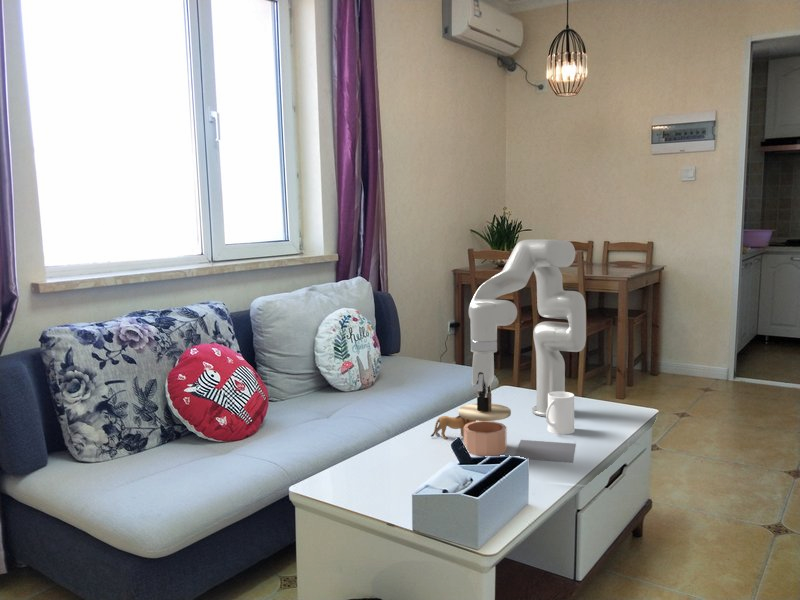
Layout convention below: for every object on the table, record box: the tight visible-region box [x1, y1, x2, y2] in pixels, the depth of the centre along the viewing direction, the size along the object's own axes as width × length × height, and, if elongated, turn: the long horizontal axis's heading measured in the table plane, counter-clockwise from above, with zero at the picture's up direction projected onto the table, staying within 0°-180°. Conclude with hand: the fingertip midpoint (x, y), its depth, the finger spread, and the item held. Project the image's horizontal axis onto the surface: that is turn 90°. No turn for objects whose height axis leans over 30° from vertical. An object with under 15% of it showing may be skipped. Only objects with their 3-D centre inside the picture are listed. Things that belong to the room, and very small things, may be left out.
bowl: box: [463, 421, 508, 457], centre depth 196 cm, size 12×12×7 cm
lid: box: [458, 391, 512, 422], centre depth 194 cm, size 15×15×6 cm
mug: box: [545, 391, 576, 435], centre depth 210 cm, size 12×8×12 cm
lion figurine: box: [430, 414, 476, 440], centre depth 209 cm, size 15×5×9 cm, turn 95°
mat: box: [513, 439, 576, 464], centre depth 193 cm, size 16×16×1 cm
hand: (484, 407), depth 195 cm, fingers closed on lid, 4 cm apart
